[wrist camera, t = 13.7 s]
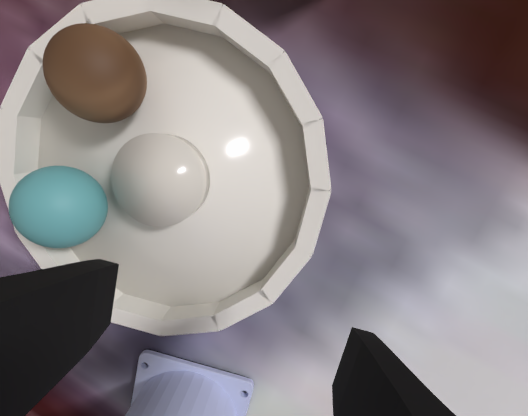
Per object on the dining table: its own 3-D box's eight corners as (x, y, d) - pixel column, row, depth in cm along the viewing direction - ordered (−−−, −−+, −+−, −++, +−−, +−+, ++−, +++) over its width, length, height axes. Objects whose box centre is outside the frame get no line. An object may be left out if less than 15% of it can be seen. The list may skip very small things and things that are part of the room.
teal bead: (117, 242, 19) (67, 270, 15) (50, 225, 19) (-19, 247, 15) (128, 173, 18) (77, 181, 14) (57, 155, 18) (-15, 157, 14)
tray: (281, 343, 20) (279, 369, 18) (25, 272, 21) (-9, 288, 19) (364, 53, 16) (376, 37, 14) (46, -20, 17) (6, -46, 15)
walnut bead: (135, 147, 17) (110, 117, 13) (54, 115, 16) (-1, 72, 12) (165, 79, 18) (152, 27, 13) (89, 45, 17) (49, -19, 13)
